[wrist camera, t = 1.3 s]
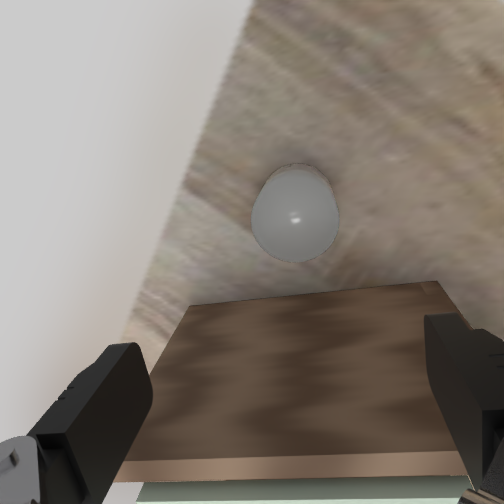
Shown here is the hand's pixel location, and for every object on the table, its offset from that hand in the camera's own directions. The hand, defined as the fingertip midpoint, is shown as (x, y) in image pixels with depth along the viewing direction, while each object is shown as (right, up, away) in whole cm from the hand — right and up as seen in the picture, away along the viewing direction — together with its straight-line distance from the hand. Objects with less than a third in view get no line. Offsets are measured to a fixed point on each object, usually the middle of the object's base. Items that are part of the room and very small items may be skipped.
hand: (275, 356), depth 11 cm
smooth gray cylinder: (+2, +7, +17) cm, 18 cm away
